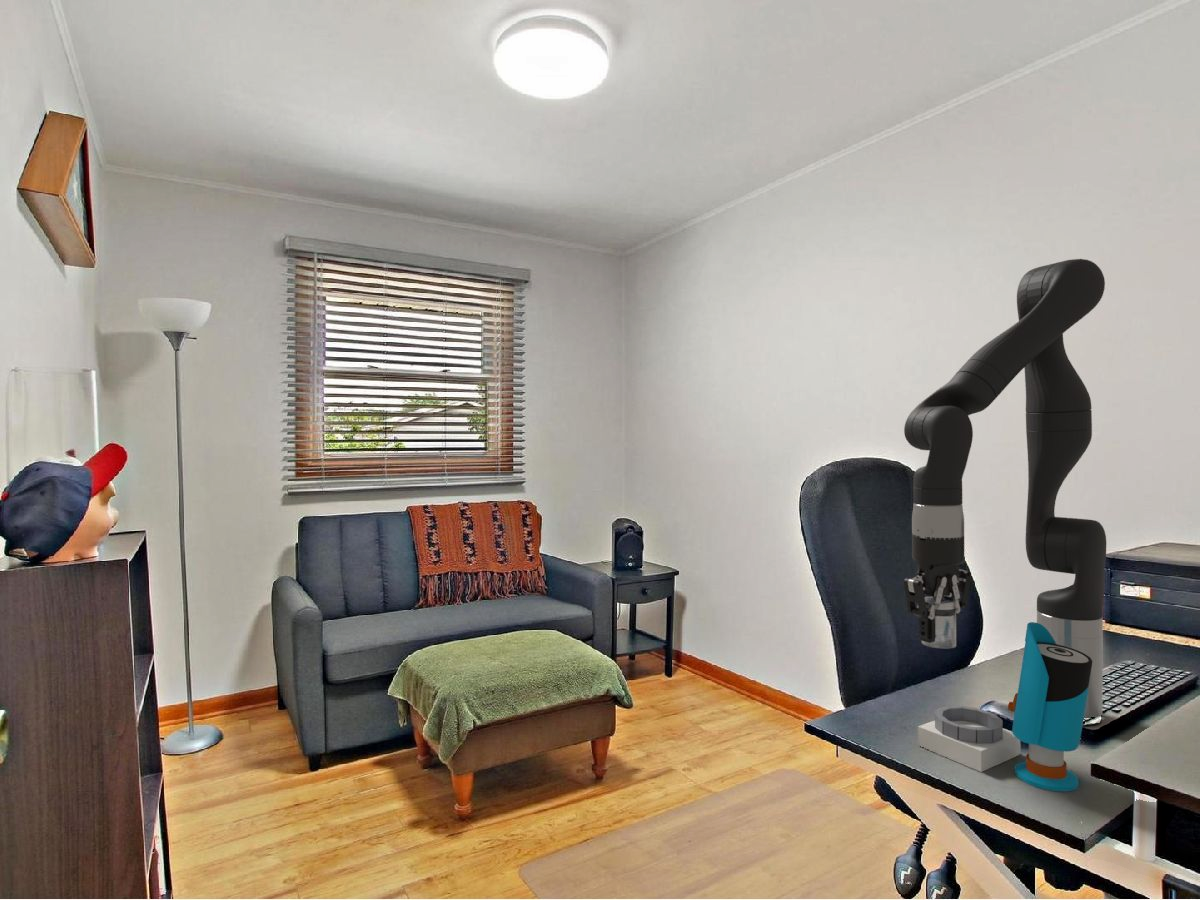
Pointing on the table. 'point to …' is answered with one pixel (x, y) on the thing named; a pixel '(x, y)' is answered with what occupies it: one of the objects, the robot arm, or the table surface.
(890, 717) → the table surface
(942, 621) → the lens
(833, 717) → the table surface
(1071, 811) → the table surface
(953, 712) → the mount
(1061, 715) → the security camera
